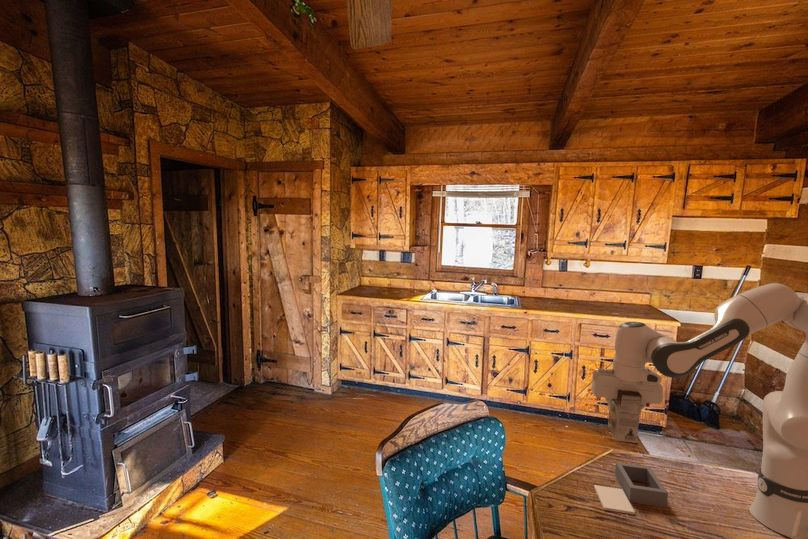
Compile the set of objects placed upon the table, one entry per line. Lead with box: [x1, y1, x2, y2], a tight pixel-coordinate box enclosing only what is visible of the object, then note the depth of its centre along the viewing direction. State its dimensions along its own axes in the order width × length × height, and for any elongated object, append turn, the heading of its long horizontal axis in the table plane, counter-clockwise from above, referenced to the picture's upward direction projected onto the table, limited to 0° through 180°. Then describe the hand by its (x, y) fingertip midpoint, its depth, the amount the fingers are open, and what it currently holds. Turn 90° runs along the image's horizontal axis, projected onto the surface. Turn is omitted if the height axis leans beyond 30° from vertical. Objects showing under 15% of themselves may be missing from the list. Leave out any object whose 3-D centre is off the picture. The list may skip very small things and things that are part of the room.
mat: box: [593, 484, 636, 516], centre depth 123 cm, size 9×11×1 cm
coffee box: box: [607, 390, 642, 444], centre depth 121 cm, size 9×6×16 cm
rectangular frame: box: [614, 461, 669, 508], centre depth 128 cm, size 11×14×5 cm
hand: (624, 411), depth 121 cm, fingers closed on coffee box, 6 cm apart
